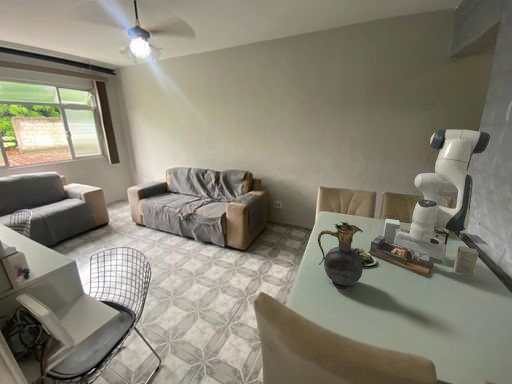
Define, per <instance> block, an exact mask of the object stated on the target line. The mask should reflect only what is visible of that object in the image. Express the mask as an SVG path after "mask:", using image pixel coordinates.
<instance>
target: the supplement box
mask: <svg viewBox="0 0 512 384" xmlns="http://www.w3.org/2000/svg"><path fill="white" fill-rule="evenodd" d="M384 221H385V222H384V227H383V232H382V233H383V234H382V236H384V237H385V242H386V243H389V244H392V245H395V244H394V239H395V236H396V234H395V232H396V229H398V230H399V229H400V228H401V222H400V220H399V219H393V218H392V219H391V218H385V220H384Z"/></svg>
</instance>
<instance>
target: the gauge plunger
mask: <svg viewBox="0 0 512 384" xmlns="http://www.w3.org/2000/svg"><path fill="white" fill-rule="evenodd" d="M402 248H403V247H402ZM408 250H409V249H406V248H403V249H402V250H401V249H398V248H395V249H394V250H393V251H391V253H392V254H396V255H399V256H401V257H403V258H406V257H407V252H408Z"/></svg>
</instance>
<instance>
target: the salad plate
mask: <svg viewBox="0 0 512 384" xmlns="http://www.w3.org/2000/svg"><path fill="white" fill-rule="evenodd" d="M351 249H352V250H353V251H355V252H356V253H357V254H358V255H359V256H360V258H361V260H362V265H363V269H364V268H372V267H375V266H376V265H377V259H376V257H374V256H371V255H370V254H369V253H368V251H367V250H365V249H363V248H360V247H356V248H355V247H351Z"/></svg>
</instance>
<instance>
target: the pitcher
mask: <svg viewBox="0 0 512 384" xmlns="http://www.w3.org/2000/svg"><path fill="white" fill-rule="evenodd" d="M340 223H341V224H338V223H335V224H333V225H334V227H335V229H336V230H337V231H335V232H334V231H331V230H329V229H328V230H327V229H326V230H325V229H324V230H321V231H320V232H319V233H318V235H317V244H318V246H319V249H320V251H321V253H322V256H323V257H322V259H321V261H320V262H319V264H318V266H320V265H321V264H322V263H323V267H324V272H325V273H326V276H327V277H328V279H330V280H331V283H332V285H334V286H335V287H336V288H339V289H349V288H350V287H351V286H352V285H354V284H355V283H357V282H358V281H359V280H360V279H361V277H362V275H363V271H364V270H363V269H364V268H363V265H362V260H361V258H360V256H359V255H358V254H357V253H356V252H355V251H353V250H352V249H351V248H352V243H353V237H354V235H355V234H356V233H358V232H359V233H363V232H364V230H363V229H361V228H359V226H357V225H354V224H350V222H347V221H346V222H345V221H340ZM324 235H330V236H332V237H335V238H337V241H338V245H337V246H336V247H333V248H331V249H329V250H328V251H327V253H326V254H325V252H324V249H323V247H322V245H321V244H322V242H321V237H322V236H324Z"/></svg>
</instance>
